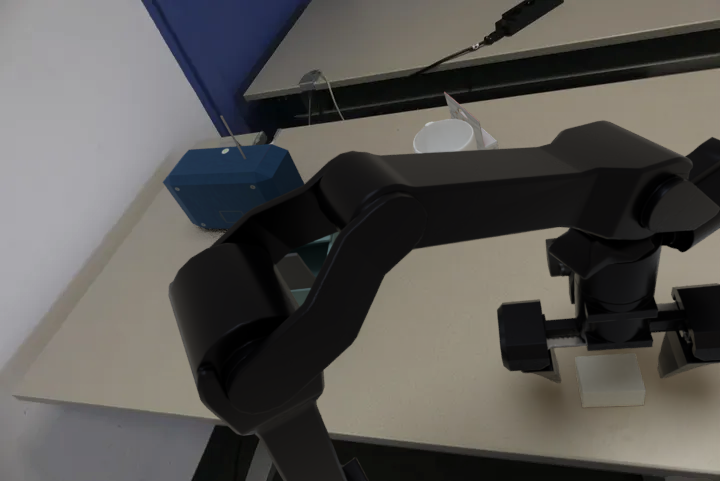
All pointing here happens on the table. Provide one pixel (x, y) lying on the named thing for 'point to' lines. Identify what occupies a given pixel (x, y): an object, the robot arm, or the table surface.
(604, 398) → the gray rectangular box
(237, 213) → the radio
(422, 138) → the mug
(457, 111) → the ink cartridge box
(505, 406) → the table surface
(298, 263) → the hatch
